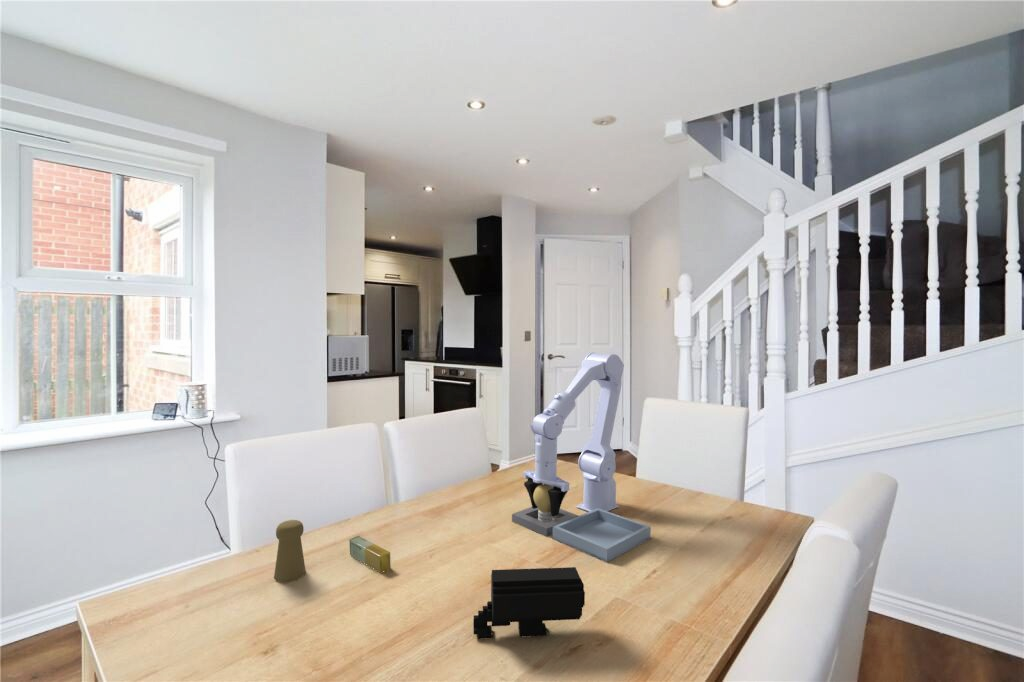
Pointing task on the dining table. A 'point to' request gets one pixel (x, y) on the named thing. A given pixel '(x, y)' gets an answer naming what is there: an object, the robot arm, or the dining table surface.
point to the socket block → (546, 529)
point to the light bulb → (543, 502)
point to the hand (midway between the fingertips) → (545, 511)
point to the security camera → (531, 600)
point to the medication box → (370, 554)
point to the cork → (289, 552)
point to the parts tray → (601, 534)
